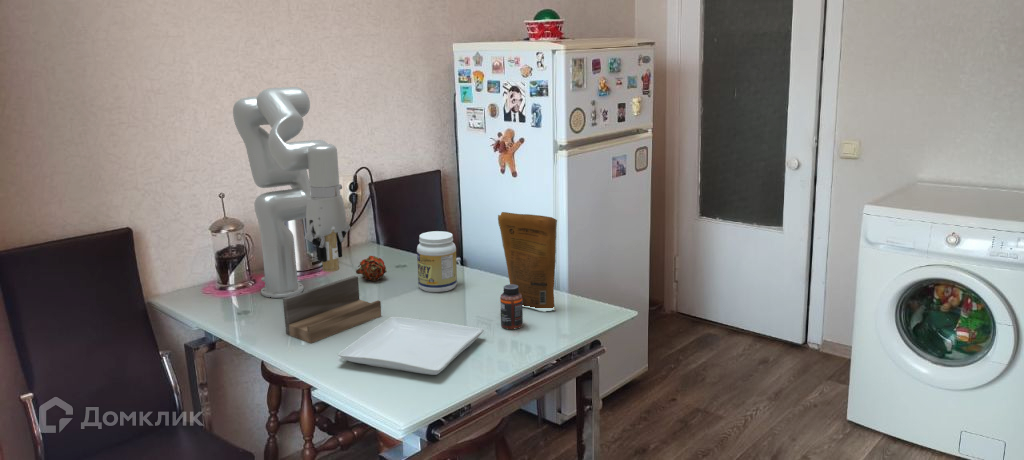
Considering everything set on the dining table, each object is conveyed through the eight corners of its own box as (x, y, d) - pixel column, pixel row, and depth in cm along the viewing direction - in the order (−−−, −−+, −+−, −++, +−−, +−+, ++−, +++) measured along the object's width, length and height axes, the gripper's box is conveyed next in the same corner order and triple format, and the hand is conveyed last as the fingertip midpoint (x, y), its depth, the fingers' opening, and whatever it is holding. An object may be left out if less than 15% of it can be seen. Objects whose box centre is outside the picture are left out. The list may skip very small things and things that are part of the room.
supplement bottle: (525, 323, 199) (525, 284, 197) (518, 331, 194) (518, 291, 191) (505, 321, 201) (504, 282, 198) (497, 328, 196) (496, 288, 193)
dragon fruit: (380, 289, 233) (363, 285, 243) (397, 269, 237) (380, 266, 246) (363, 271, 229) (346, 268, 239) (381, 251, 233) (363, 249, 242)
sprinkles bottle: (342, 270, 196) (338, 221, 192) (325, 273, 193) (321, 224, 190) (335, 266, 199) (332, 218, 196) (319, 269, 197) (315, 220, 193)
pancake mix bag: (549, 317, 204) (550, 219, 197) (497, 303, 215) (495, 210, 208) (563, 310, 209) (564, 215, 202) (511, 296, 220) (510, 206, 213)
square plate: (440, 385, 165) (439, 369, 164) (336, 368, 174) (334, 353, 173) (485, 340, 190) (485, 326, 189) (392, 327, 199) (391, 314, 198)
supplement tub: (410, 286, 231) (408, 234, 226) (441, 278, 238) (439, 228, 234) (433, 296, 222) (431, 242, 218) (465, 287, 230) (463, 234, 225)
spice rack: (286, 333, 194) (282, 298, 192) (356, 308, 212) (354, 275, 210) (310, 343, 188) (307, 306, 185) (381, 316, 206) (379, 282, 203)
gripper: (341, 185, 199) (345, 249, 204) (289, 195, 187) (294, 263, 191) (359, 188, 195) (363, 253, 200) (307, 199, 182) (312, 268, 187)
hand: (329, 257), depth 195 cm, fingers closed on sprinkles bottle, 4 cm apart
